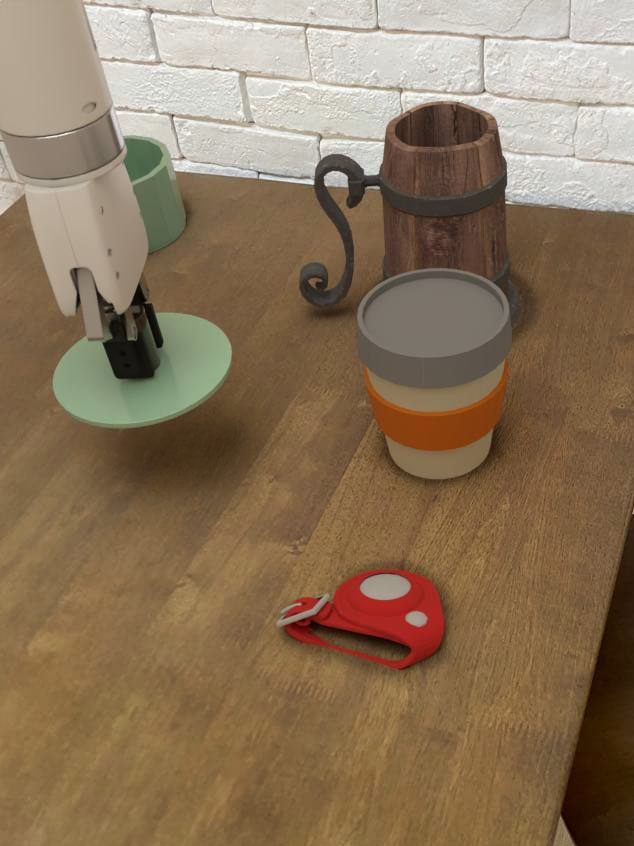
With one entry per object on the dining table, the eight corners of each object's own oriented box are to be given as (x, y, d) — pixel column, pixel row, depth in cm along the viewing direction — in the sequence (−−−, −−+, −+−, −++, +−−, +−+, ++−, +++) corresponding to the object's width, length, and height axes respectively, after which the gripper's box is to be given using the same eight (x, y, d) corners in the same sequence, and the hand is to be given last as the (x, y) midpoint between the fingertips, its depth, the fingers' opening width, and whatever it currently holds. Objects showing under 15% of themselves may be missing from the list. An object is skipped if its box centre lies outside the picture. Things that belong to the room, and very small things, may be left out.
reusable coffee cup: (468, 389, 90) (466, 250, 79) (535, 469, 82) (543, 327, 71) (349, 432, 87) (329, 294, 76) (406, 519, 79) (393, 379, 68)
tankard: (519, 263, 104) (525, 78, 89) (537, 357, 93) (547, 163, 78) (310, 278, 105) (280, 97, 90) (302, 373, 94) (267, 183, 79)
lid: (36, 438, 73) (6, 376, 68) (80, 327, 83) (56, 266, 78) (221, 430, 72) (203, 366, 67) (244, 318, 82) (230, 256, 77)
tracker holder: (397, 545, 76) (474, 598, 69) (398, 591, 78) (473, 648, 71) (263, 592, 70) (333, 656, 63) (268, 641, 72) (336, 708, 65)
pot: (62, 262, 110) (36, 195, 104) (89, 204, 120) (66, 138, 113) (176, 256, 110) (157, 188, 103) (194, 198, 119) (177, 131, 112)
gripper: (42, 90, 68) (116, 305, 82) (-29, 204, 57) (71, 430, 71) (143, 84, 68) (201, 301, 81) (91, 197, 57) (168, 426, 71)
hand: (140, 359), depth 76 cm, fingers closed on lid, 3 cm apart
